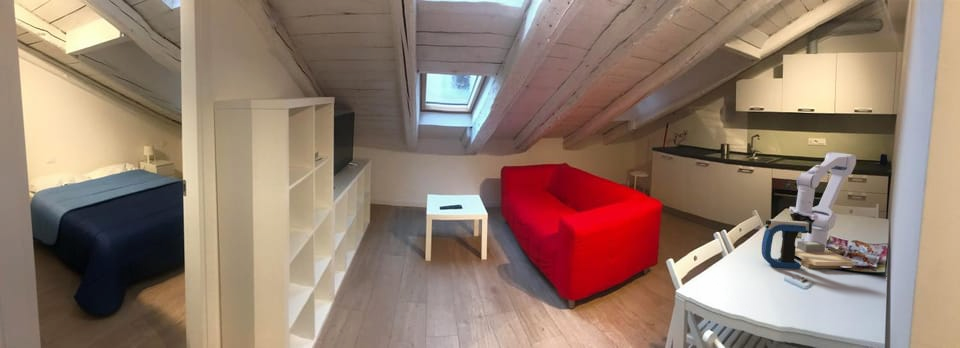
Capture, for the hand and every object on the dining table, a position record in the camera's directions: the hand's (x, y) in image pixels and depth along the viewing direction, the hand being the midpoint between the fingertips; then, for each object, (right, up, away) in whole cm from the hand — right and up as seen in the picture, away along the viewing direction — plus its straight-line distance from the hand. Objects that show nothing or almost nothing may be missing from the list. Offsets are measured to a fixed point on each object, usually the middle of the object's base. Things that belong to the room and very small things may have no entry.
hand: (800, 231), depth 198 cm
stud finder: (0, -7, -6) cm, 9 cm away
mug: (+17, -6, +23) cm, 30 cm away
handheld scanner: (-18, -12, -15) cm, 26 cm away
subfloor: (0, -11, -9) cm, 14 cm away
